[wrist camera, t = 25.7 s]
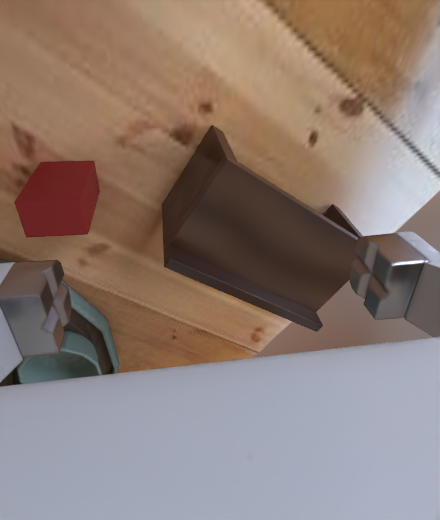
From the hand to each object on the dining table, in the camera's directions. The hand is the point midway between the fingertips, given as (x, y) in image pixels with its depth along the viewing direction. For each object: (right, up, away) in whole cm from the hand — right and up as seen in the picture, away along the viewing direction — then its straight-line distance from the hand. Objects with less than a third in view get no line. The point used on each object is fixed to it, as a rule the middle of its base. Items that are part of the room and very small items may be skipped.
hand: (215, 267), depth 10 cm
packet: (-18, +10, +33) cm, 39 cm away
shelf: (+5, +8, +40) cm, 41 cm away
